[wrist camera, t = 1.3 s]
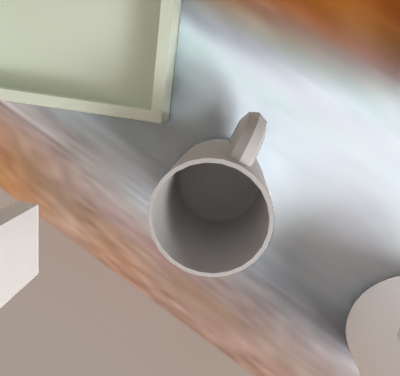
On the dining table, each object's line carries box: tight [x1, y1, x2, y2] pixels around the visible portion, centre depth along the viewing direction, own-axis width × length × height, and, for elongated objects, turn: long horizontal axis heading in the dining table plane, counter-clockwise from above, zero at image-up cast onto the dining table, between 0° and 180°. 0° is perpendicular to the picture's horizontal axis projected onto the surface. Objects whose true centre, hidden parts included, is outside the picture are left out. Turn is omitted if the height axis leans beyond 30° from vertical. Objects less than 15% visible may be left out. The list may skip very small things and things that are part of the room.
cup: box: [148, 112, 274, 277], centre depth 24 cm, size 7×10×9 cm
